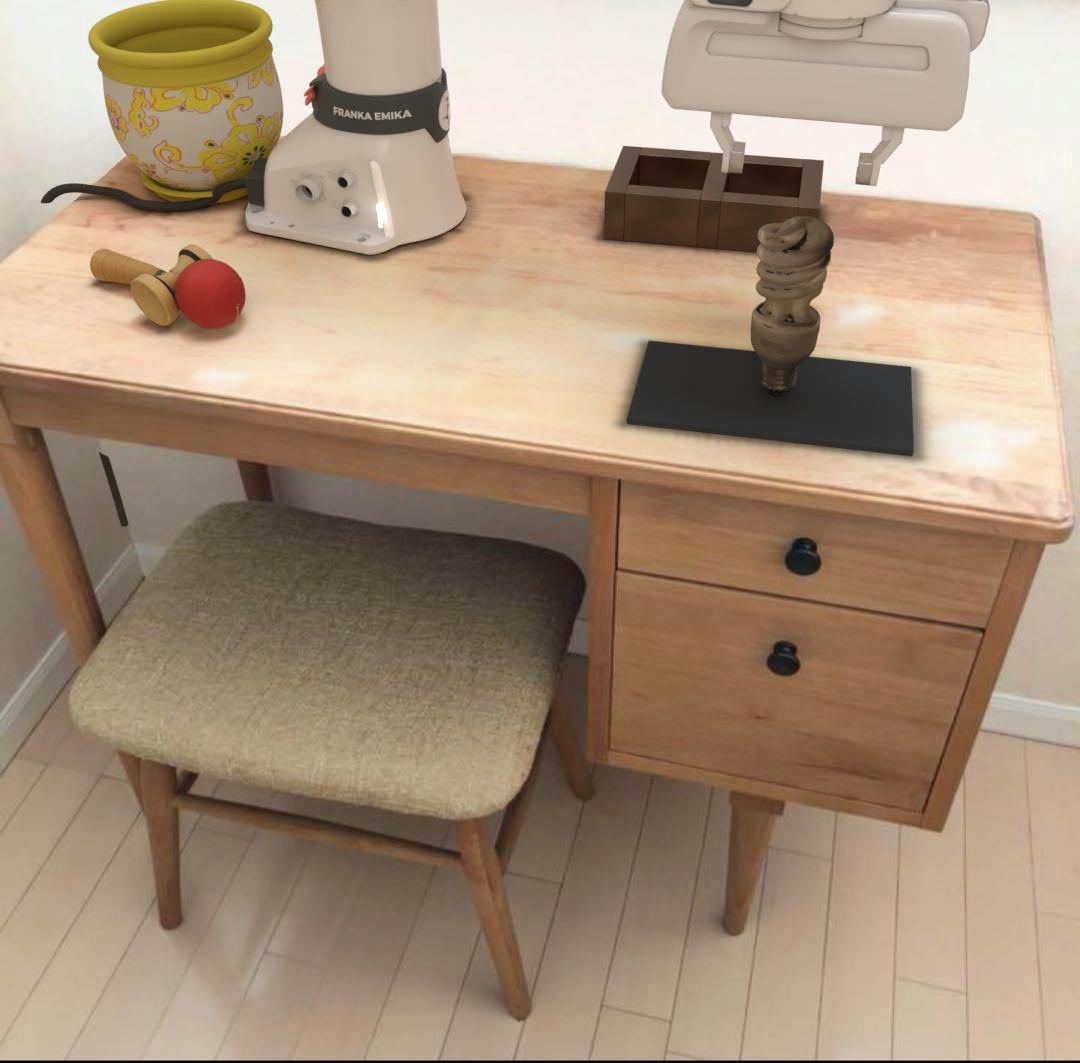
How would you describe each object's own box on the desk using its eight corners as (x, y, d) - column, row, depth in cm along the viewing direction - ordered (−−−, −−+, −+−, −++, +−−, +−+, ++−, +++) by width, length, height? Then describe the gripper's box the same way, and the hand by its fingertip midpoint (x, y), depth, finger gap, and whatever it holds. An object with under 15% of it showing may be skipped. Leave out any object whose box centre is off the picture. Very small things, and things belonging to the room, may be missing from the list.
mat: (626, 423, 96) (626, 418, 96) (648, 345, 105) (648, 340, 105) (912, 455, 93) (914, 450, 92) (910, 371, 101) (911, 366, 101)
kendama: (73, 312, 113) (202, 344, 104) (59, 244, 110) (190, 271, 101) (141, 292, 119) (269, 321, 109) (129, 227, 116) (260, 251, 106)
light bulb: (735, 406, 97) (758, 232, 87) (739, 369, 101) (761, 199, 91) (807, 413, 96) (838, 239, 86) (808, 376, 100) (837, 205, 91)
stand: (603, 239, 120) (604, 191, 117) (621, 191, 129) (623, 145, 126) (812, 257, 117) (819, 208, 114) (817, 206, 125) (823, 160, 122)
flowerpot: (321, 156, 137) (301, 4, 126) (247, 226, 124) (218, 63, 113) (178, 139, 141) (147, -10, 130) (92, 206, 128) (50, 46, 117)
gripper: (993, -33, 79) (946, 171, 88) (678, -53, 82) (664, 146, 91) (1000, -3, 74) (950, 209, 83) (665, -25, 77) (652, 181, 86)
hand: (798, 176), depth 87 cm, fingers open, 8 cm apart
